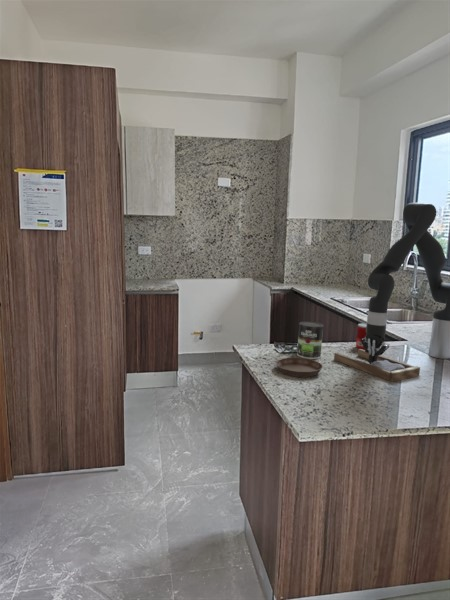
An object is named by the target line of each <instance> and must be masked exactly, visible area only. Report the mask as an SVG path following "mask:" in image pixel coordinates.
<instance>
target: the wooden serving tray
mask: <svg viewBox="0 0 450 600" xmlns="http://www.w3.org/2000/svg"><path fill="white" fill-rule="evenodd" d="M357 350H358V351H357V357H360V358H362V359H364V360H365V359H366V360H368V361H369V353H367V352H365V350H363V349H358V348H357ZM333 357H334V358H333V360H334V361H336V362H339V363H341V364H344V365H347V366H350V367H352V368H355V369H358V370H360V371H363V372H366V373H368V374H370V375H374V376H375V377H379V378H381V379H384V380H387V381H389V382H391V383H393V382H397V381H402V380H405V379H406V380H407V379H411V378H414V377H419V376H420V371H421V367H420V366H418V365H417V366H414V365H411V364H408V363H406V362H402V361H399V360H396V359H393V358H389V357H387V356H384V355H379V356H377V361H384V360H387V361H389V362H390V363H393V364H396V363H397V364H401V365H403V366H404V367H405V369H401V370H396V371H391V372H390V371H387V370H385V369H382V368H379V367H376V366H373V365H371V364H369V362H368V363H367V362H365V361H362V360H359V359H357V358H353V357H351V356H349V355H345V354H342V353H339V352H334V355H333Z"/></svg>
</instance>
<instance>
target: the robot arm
mask: <svg viewBox="0 0 450 600" xmlns="http://www.w3.org/2000/svg"><path fill="white" fill-rule="evenodd" d="M402 213H403V215H402V217H403V220H404V223H405V225H406V227H407V229H408V232H407V233H406V234H404V235H403V236H402V237H401V238H400V239H398V240H397V241H396V242H394V244H392V245H391V247H390V248H389V249H388V251H387V253H386V254H385V257H384V258H383V260H382V261H381V262H380V263H379V264H378V265H377V266H376V267H375V268H374V269H373V270H372V272H370V274H369V276H368V279H367V285H368V287H369V288H370V289H372V290H374V291H377V293H376V295H375V296H371V297H370V299H369V302H368V303H369V305H368V313H367V317H366V324H367V325H366V333H367V334H366V336H365V338H364V339H361V343H362V345H363V347H364V349H365V352H367V353H369V360H368V364H371V363H372V362H374V361H377V356H379V355H381V356H383V354H384V353H385V352H386V351H387V350H388V349H389V348H390V345H389V344H386V342H385V340H386V339H385V335H386V331H387V322H388V309H389V308H388V305H389V301H390V299H391V296H392V293H393V291H394V289H395V280H394V277H393V276H392V275H391V274H392V273H396V272H398V271H399V270H400V268H401V266H402V264H403V263H404V262H405V261H406V258H407V256H408V255H409V253H410V252H411V250H412V249H413V248H414V247H416V249H417V253H418V255H419V258H420V261H421V263H422V266H423V268H424V271H425V274H426V278H427V280H428V285H429V290H430V295H431V297H432V299H433V300H434V301H435V302H436V303H438V304H439V303H441V304H444V305H445V307H444V308H443V309H440V310H435V311H434V312H433V314H432V315H433V316H432V323H431V324H432V325H431V332H430V339H429V340H430V341H429V347H428V348H429V349H428V356H429V357H432V358H436V359H443V360H447V359H450V282H445V281H444V280H443V279H442V275H441V274H442V271H443V269H444V267H445V264H446V261H447V260H446V255H445V252H444V249H443V246H442V245H441V242H439V240H437V239H436V238H435V236H433V235H432V234H431V232H429V228H431V226H432V224H433V223H434V221H435V220H436V216H437V208H436V207H435V205H434V204H431V203H427V202H410V203H407V204H406V205H405V206H404V208H403V212H402ZM367 348H368V349H367Z"/></svg>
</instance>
